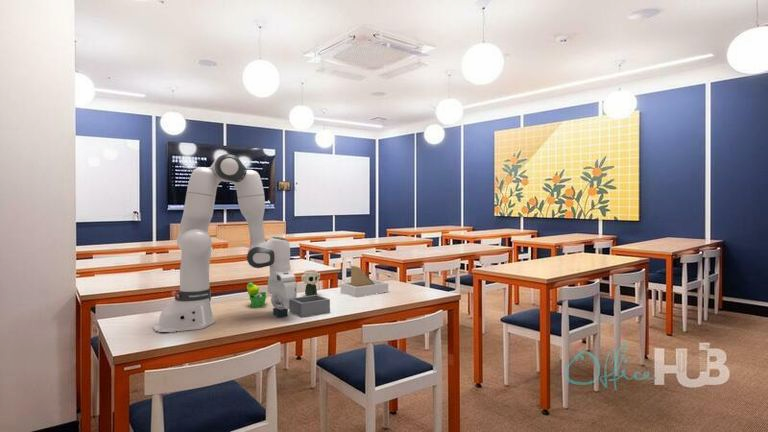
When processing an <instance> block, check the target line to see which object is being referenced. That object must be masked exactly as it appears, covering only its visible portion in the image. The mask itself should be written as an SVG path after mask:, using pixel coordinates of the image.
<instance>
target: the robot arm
mask: <svg viewBox="0 0 768 432" xmlns="http://www.w3.org/2000/svg"><path fill="white" fill-rule="evenodd" d="M229 182H230V183H232V184H233V185H234V186H235V189H236V196H237V203H238V206H239V210H240V214H241V215H242V216H243V217H244V218H245V221H246V223H247V226H248V233H249V238H250V239H249V240H250V246H249V248H248V252H247V253H246V260H247V261H246V262H247V263H248V265H249V266H250V267H252V268H255V269H262V268H266V267H269V277H268V279H267V292H268V293H269V294H271V295H272V294H274V292H278V293H277V294H276V295H275V297H274V301H275V304H279V300H278V297H277V296H279V297H281V298H283V301H284V303H283V308H284V309H289V308H288V303H289V299H293V298H294V294H295V284H294V282H295V281H296V274H294V273H293V271H292V270H291V264H290V260H291V246H290V242H289V240H288V239H286V238H285V237H279V236H271V238H269V239H267V240H266V238H265V231H264V214H265V209H266V207H265V206H266V200H265V199H266V198H265V197H266V196H265V190H264V186H263V181H262V178H261V176H260V174H259V172H258V171H256V170H253V169H247V168H246V166H245V165H244V163H243V162H242V161H241V159H240V158H238V157H237V156H236V155H234V154H230V153H225V154H222V155H219V156H218V157H216V158H215V160H214V161H213V162H212V163H211V165H210V166H209V167H204V166H199V167H197V168H194V169H193V170H192V172H191V174H190V178H189V180H188V183H187V184H188V185H187V188H186V189H187V190H186V193H185V194H186V195H185V201H184V207H183V214H182V218H181V221H180V223H179V224H180V225H179V229H178V233H177V239H176V244H177V247H178V248H179V249H180V251H181V253H180V254H181V259H180V268H179V290H177V291H176V290H172V291H171V295H172V296H173V297H174V300H173V301H172V302H171V303H170V304H168V305H167V306H166V307H165V308H164V309H162V310H161V312H160V315H159V321H158V322H155V323H154V324H153V325H152V329H153V330H154V332H156V331H158V332H157V333H159V332H169V333H176V331H177V332H186V331H191V330H192V331H194V330H202V329H205V328H206V327H208V326H211V325H212V324H214V323H215V320H214V317H213V314H212V313H213V311H212V307H211V299H212V291H211V287H210V265H211V264H210V263H211V257H212V246H213V241H212V240H213V239H212V237H211V236H210V233H208V231H209V228H210V223H211V220H212V218H213V215H214V210H215V202H216V197H217V196H216V195H217V189H218V186H219V184H220V183H229Z"/></svg>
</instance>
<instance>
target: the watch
mask: <svg viewBox="0 0 768 432" xmlns="http://www.w3.org/2000/svg"><path fill="white" fill-rule="evenodd" d="M277 293H278V292H274V294H272V293H271V297H270V302H271V304H272V307H274V308H272V316H274V317H275V318H277V319H281V318H287V317H288V316H289V310H288V309H289V308H286V309H284V308H283V307H278V308H277V306H276V304H275V301H274V297H275V295H276V294H277ZM289 300H290V299H289ZM288 304H289V303H288Z"/></svg>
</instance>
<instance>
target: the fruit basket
mask: <svg viewBox="0 0 768 432" xmlns="http://www.w3.org/2000/svg"><path fill="white" fill-rule="evenodd" d="M246 289H247V294H248V295H249V300H250V302H251V308H252V309H256V308H264V307H265V303H266V299H267V292H266V291H265V292H264V291H260V287H259V286H258V285H256V284H254V283H253V282H247V286H246ZM259 291H260V292H259Z"/></svg>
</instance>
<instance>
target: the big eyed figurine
mask: <svg viewBox="0 0 768 432" xmlns="http://www.w3.org/2000/svg"><path fill="white" fill-rule="evenodd" d="M320 279H321V273H320V272H319V273H318V270H315V269H308V270H307V269H306V270H304V271H303V274H302V275H301V282H304V284H305V290H304V291H305V292H304V294H305V295H304V296H311V295H318V290H317V285H316V284H317V283H318V281H319V280H320Z"/></svg>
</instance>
